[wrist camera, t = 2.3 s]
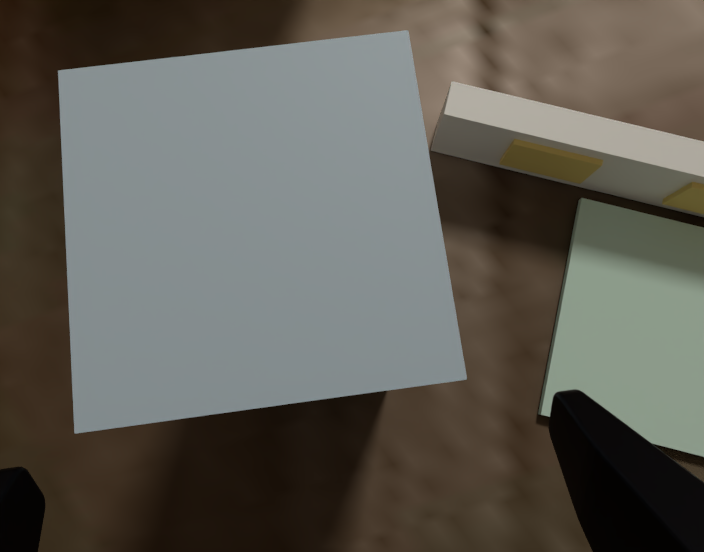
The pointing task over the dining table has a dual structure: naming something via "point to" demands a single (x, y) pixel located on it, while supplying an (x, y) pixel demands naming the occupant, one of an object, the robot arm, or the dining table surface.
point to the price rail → (572, 148)
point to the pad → (633, 323)
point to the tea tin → (251, 231)
